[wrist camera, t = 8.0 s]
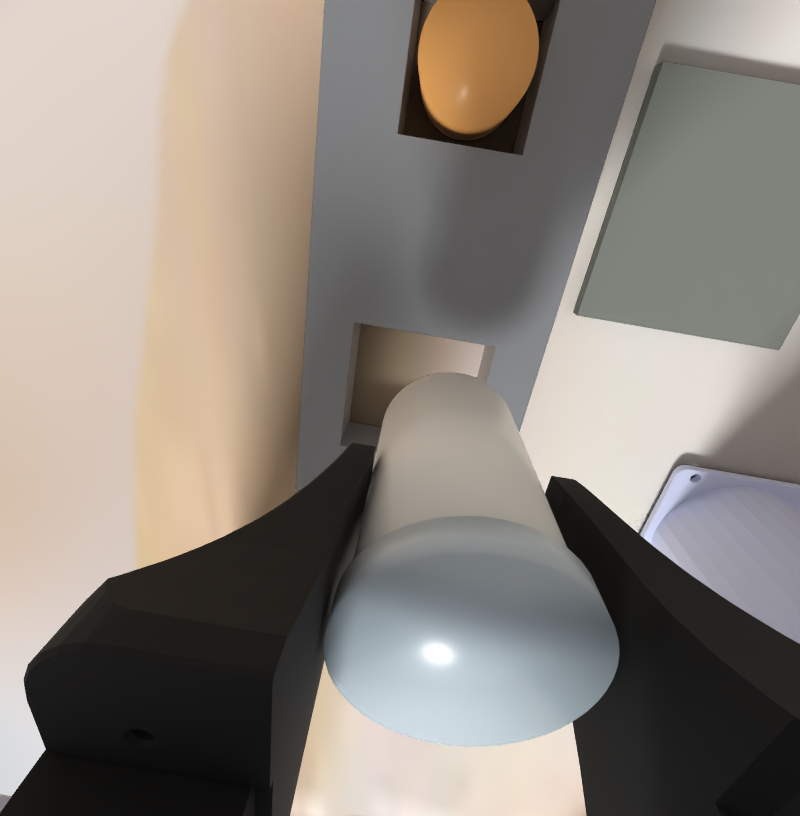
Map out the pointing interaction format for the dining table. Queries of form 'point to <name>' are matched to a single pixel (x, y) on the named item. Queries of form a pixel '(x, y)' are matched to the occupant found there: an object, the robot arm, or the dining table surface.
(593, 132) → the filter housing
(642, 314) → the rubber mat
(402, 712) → the cylinder
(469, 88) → the release plunger
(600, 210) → the dining table surface
